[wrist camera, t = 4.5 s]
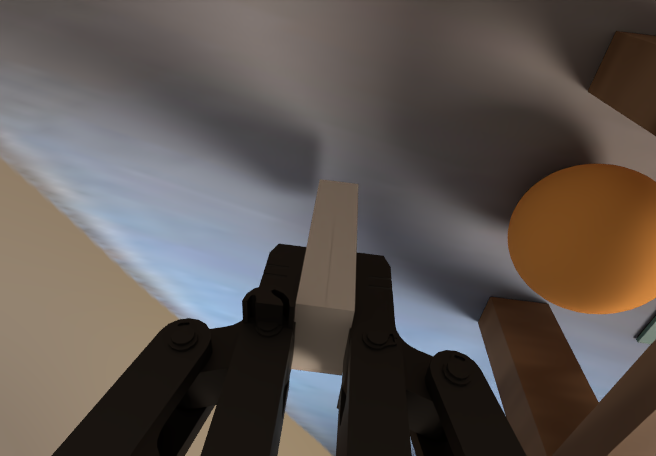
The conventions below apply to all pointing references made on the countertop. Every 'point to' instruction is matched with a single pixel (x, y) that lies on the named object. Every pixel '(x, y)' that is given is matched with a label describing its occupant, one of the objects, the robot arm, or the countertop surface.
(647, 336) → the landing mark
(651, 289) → the ball
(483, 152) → the countertop surface
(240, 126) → the countertop surface
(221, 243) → the countertop surface
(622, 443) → the bridge
